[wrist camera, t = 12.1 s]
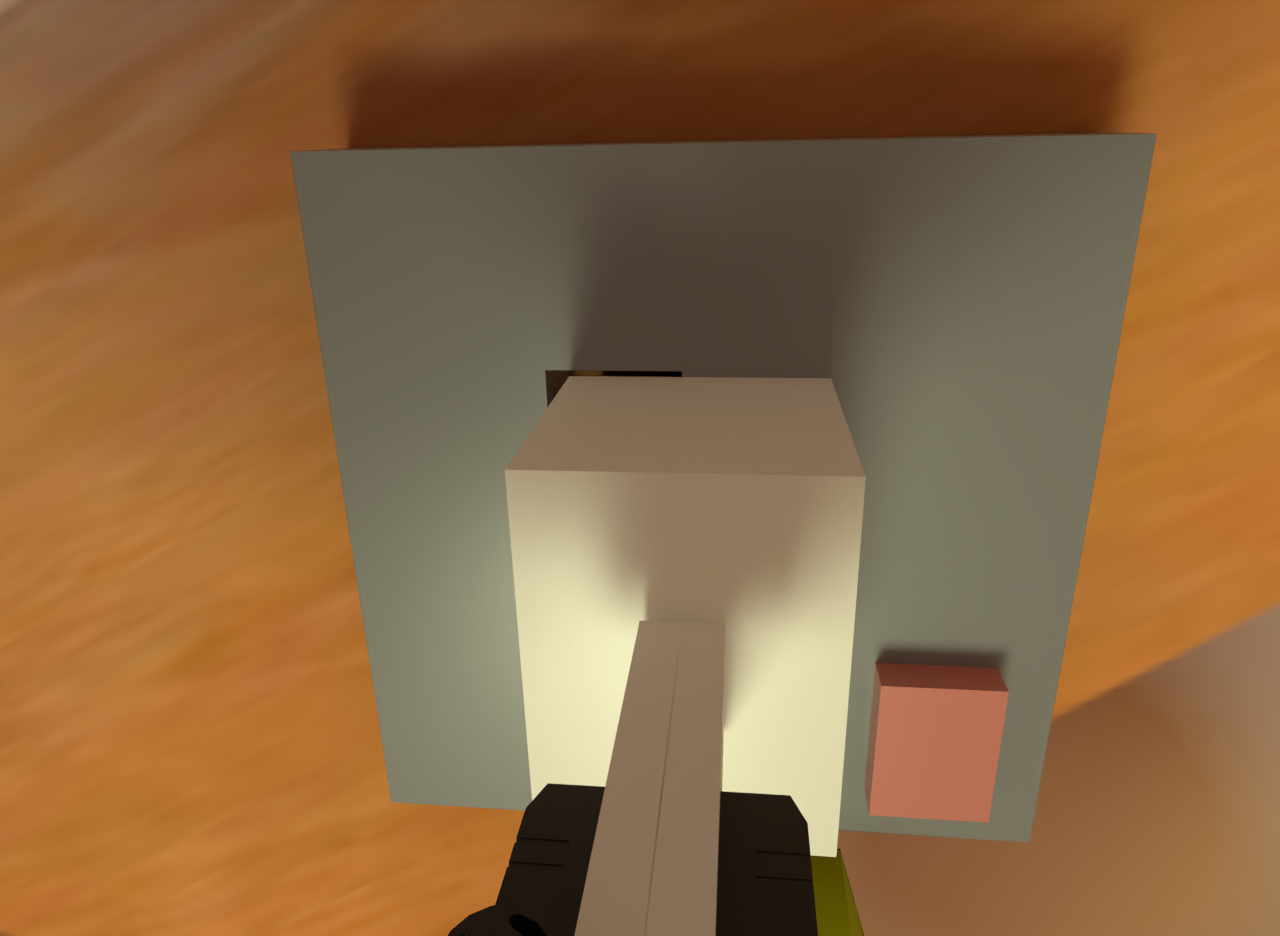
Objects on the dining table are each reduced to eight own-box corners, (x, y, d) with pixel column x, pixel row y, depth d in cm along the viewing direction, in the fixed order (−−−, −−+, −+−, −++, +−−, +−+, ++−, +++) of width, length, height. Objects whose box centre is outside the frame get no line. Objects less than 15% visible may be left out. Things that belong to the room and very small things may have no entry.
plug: (601, 610, 26) (534, 836, 18) (590, 346, 23) (504, 469, 15) (805, 617, 25) (835, 856, 17) (820, 347, 23) (866, 477, 14)
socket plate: (425, 736, 29) (378, 827, 25) (346, 147, 22) (267, 153, 18) (999, 767, 27) (1041, 871, 23) (1099, 132, 20) (1179, 134, 16)
